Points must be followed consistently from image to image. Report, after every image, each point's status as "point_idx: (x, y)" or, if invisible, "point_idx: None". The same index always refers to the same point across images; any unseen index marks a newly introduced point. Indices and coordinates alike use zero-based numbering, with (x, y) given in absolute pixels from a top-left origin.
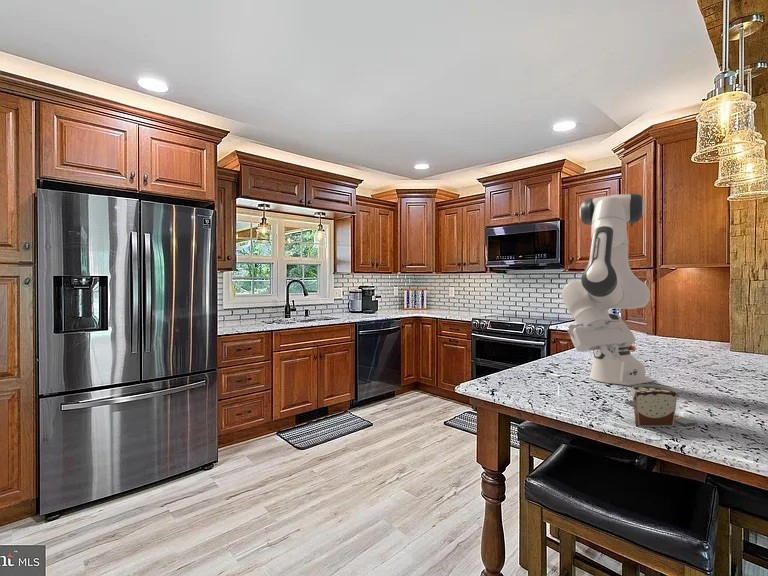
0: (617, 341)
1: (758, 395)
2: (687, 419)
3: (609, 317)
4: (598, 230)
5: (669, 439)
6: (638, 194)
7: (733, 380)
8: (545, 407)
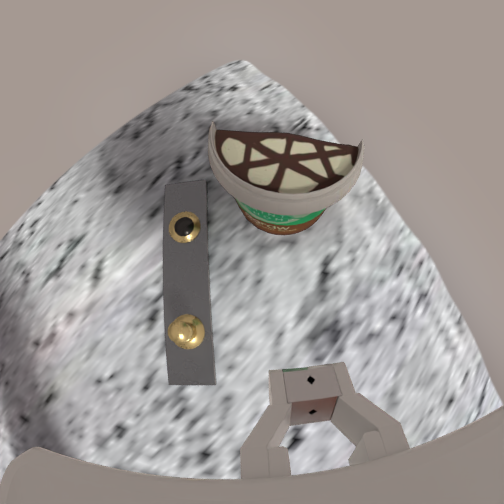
0: (230, 488)
1: None
2: (169, 204)
3: None
4: None
5: (311, 127)
6: None
7: None
8: (470, 363)
